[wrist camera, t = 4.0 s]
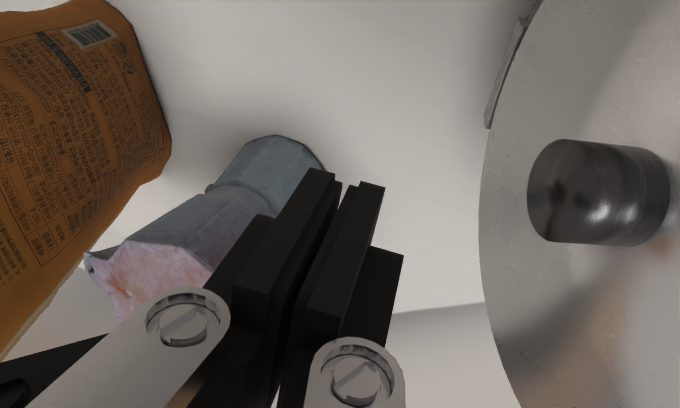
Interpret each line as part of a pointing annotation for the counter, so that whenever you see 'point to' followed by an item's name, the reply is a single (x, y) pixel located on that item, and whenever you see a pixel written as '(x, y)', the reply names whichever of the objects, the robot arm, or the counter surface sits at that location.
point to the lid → (587, 208)
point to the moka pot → (200, 226)
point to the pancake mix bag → (67, 146)
